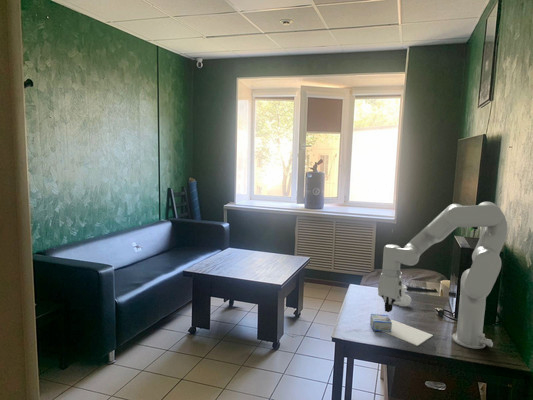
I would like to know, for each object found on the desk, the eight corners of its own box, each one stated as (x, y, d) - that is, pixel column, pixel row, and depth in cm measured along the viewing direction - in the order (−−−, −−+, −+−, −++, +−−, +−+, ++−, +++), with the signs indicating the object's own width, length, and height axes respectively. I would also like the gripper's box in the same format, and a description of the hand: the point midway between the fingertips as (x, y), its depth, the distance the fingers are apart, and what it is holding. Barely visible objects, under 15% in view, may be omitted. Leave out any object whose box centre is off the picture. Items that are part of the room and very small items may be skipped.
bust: (410, 311, 196) (416, 291, 200) (407, 305, 191) (413, 285, 195) (388, 304, 204) (394, 285, 208) (384, 299, 199) (391, 279, 203)
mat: (432, 336, 164) (433, 335, 164) (417, 346, 155) (417, 345, 155) (392, 320, 179) (392, 319, 179) (375, 328, 170) (375, 328, 170)
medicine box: (387, 314, 174) (392, 322, 165) (387, 324, 174) (391, 332, 166) (370, 313, 175) (373, 321, 166) (369, 322, 175) (373, 331, 167)
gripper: (410, 274, 167) (407, 314, 169) (380, 266, 178) (378, 304, 180) (402, 278, 162) (399, 318, 164) (371, 269, 173) (369, 307, 175)
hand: (388, 311), depth 172 cm, fingers closed
